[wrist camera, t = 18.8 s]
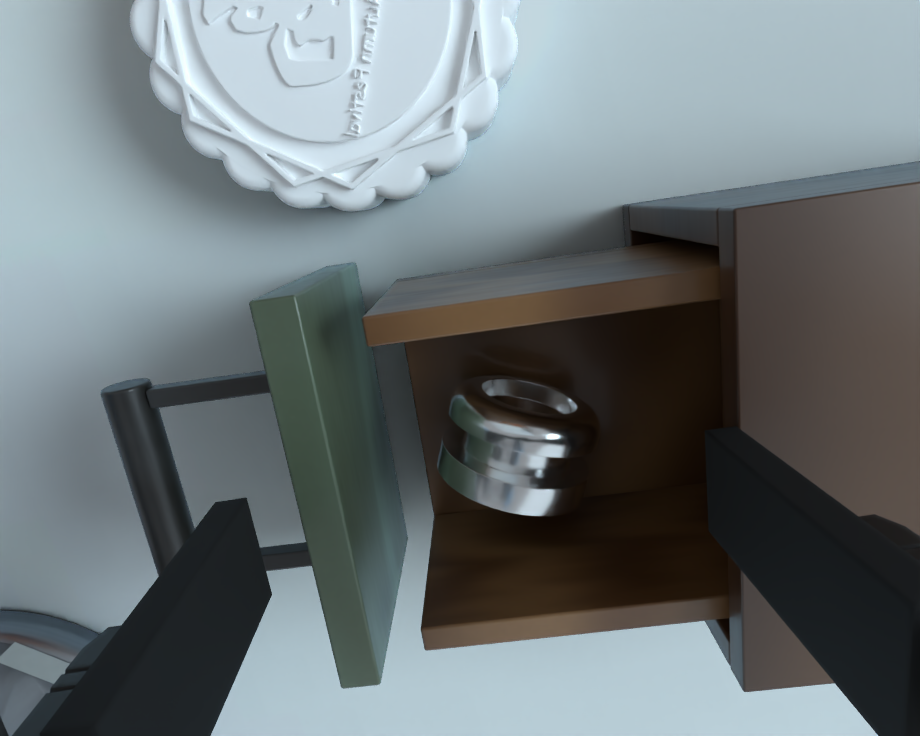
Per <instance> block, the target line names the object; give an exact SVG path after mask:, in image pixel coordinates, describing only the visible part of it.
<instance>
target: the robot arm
mask: <svg viewBox="0 0 920 736" xmlns="http://www.w3.org/2000/svg"><path fill="white" fill-rule="evenodd" d="M705 453H706V479H707V504H708V530H709V532H710V533H711V534H712V536H713V537H714V538H715V539H716V540H717V542H718V543H719V544H720V545H721V546H722V548H723V549H724V550H725V551H726V553H727V554H728V555H729V556H730V557H731V559H732V560H733V561H734V562H735V563H736V565H737V566H738V567H739V568H740V569H741V571H742V572H743V573H744V574H745V575H746V577H747V578H748V579H749V580H750V581H751V583H752V584H753V585H754V586H755V587H756V589H757V590H758V591H759V592H760V593H761V595H762V596H763V597H764V598H765V600H766V601H767V602H768V603H769V604H770V606H771V607H772V608H773V609H774V610H775V612H776V613H777V614H778V615H779V616H780V618H781V619H782V620H783V621H784V622H785V624H786V625H787V626H788V627H789V628H790V630H791V631H792V632H793V633H794V634H795V636H796V637H797V638H798V639H799V640H800V642H801V643H802V644H803V645H804V647H805V648H806V649H807V650H808V651H809V653H810V654H811V655H812V656H813V657H814V659H815V660H816V661H817V662H818V663H819V665H820V666H821V667H822V668H823V669H824V671H825V672H826V673H827V674H828V675H829V677H830V678H831V679H832V680H833V681H834V683H835V684H836V685H837V686H838V687H839V689H840V690H841V691H842V692H843V694H844V695H845V696H846V697H847V698H848V700H849V701H850V702H851V703H852V704H853V706H854V707H855V708H856V709H857V710H858V712H859V713H860V714H861V715H862V716H863V718H864V719H865V720H866V721H867V722H868V724H869V725H870V726H871V727H872V728H873V730H874V731H875V732H876V733H877V734H878V736H920V536H919V535H917V534H916V533H915V532H913V531H912V530H910V529H909V528H907V527H906V526H903V525H901V524H898V523H896V522H893V521H891V520H888V519H886V518H883V517H881V516H878V515H876V514H872V515H865V516H857V515H856V514H854V513H853V512H852V511H850V510H849V509H848V508H846V507H845V506H844V505H842V504H841V503H840V502H838V501H837V500H836V499H834V498H833V497H831V496H830V495H829V494H827V493H826V492H825V491H823V490H822V489H821V488H819V487H818V486H817V485H815V484H814V483H813V482H811V481H810V480H808V479H807V478H806V477H804V476H803V475H802V474H800V473H799V472H798V471H796V470H795V469H794V468H792V467H791V466H790V465H788V464H787V463H785V462H784V461H783V460H781V459H780V458H779V457H777V456H776V455H775V454H773V453H772V452H771V451H769V450H768V449H767V448H765V447H764V446H762V445H761V444H760V443H758V442H757V441H756V440H754V439H753V438H752V437H750V436H749V435H748V434H746V433H745V432H744V431H742V430H741V429H739V428H738V427H737V426H732V427H725V428H718V429H711V430H705ZM271 596H272V592H271V589H270V585H269V581H268V577H267V573H266V570H265V566H264V562H263V558H262V555H261V551H260V547H259V543H258V539H257V536H256V532H255V528H254V524H253V520H252V517H251V513H250V509H249V505H248V501H247V498H241V499H234V500H228V501H221V502H215V504H214V505H213V506H212V508H211V509H210V510H209V512H208V513H207V514H206V515H205V517H204V518H203V519H202V521H201V522H200V523H199V525H198V526H197V527H196V529H195V530H194V531H193V533H192V534H191V535H190V536H189V538H188V539H187V540H186V542H185V543H184V544H183V546H182V547H181V548H180V550H179V551H178V552H177V554H176V555H175V556H174V557H173V559H172V560H171V561H170V563H169V564H168V565H167V567H166V568H165V569H164V571H163V572H162V573H161V575H160V576H159V577H158V578H157V580H156V581H155V582H154V584H153V585H152V586H151V588H150V589H149V590H148V592H147V593H146V594H145V596H144V597H143V598H142V599H141V601H140V602H139V603H138V605H137V606H136V607H135V609H134V610H133V611H132V613H131V614H130V615H129V617H128V618H127V619H126V620H125V622H124V623H123V624H122V626H115V627H109V628H107V629H106V630H105V631H104V632H102V633H101V634H100V635H99V634H97V633H96V632H93V631H91V630H89V629H86V628H84V627H82V626H80V625H77V624H74V623H71V622H68V621H65V620H62V619H58V618H54V617H50V616H46V615H41V614H35V613H29V612H19V611H0V736H211V733H212V731H213V729H214V726H215V724H216V722H217V720H218V717H219V715H220V713H221V710H222V708H223V706H224V703H225V701H226V699H227V697H228V694H229V692H230V690H231V687H232V685H233V683H234V681H235V678H236V676H237V674H238V671H239V669H240V667H241V664H242V662H243V660H244V658H245V655H246V653H247V651H248V648H249V646H250V644H251V641H252V639H253V637H254V635H255V632H256V630H257V628H258V625H259V623H260V621H261V618H262V616H263V614H264V612H265V609H266V607H267V605H268V602H269V600H270V598H271Z"/></svg>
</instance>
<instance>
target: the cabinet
mask: <svg viewBox="0 0 920 736" xmlns="http://www.w3.org/2000/svg"><path fill="white" fill-rule="evenodd" d="M623 218H624V233H625V247H628V246H635V245H642V244H649V243H656V242H663V241H670V240H677V239H681V240H687V241H692V242H697V243H703V244H708V245H713V246H719V257H720V294H721V330H722V367H723V403H724V428H725V427H732V426H737V427H738V428H739V429H741V430H742V431H744V432H745V433H746V434H748V435H749V436H750V437H752V438H753V439H754V440H756V441H757V442H758V443H760V444H761V445H762V446H764V447H765V448H767V449H768V450H769V451H771V452H772V453H773V454H775V455H776V456H777V457H779V458H780V459H781V460H783V461H784V462H785V463H787V464H788V465H790V466H791V467H792V468H794V469H795V470H796V471H798V472H799V473H800V474H802V475H803V476H804V477H806V478H807V479H808V480H810V481H811V482H813V483H814V484H815V485H817V486H818V487H819V488H821V489H822V490H823V491H825V492H826V493H827V494H829V495H830V496H831V497H833V498H834V499H836V500H837V501H838V502H840V503H841V504H842V505H844V506H845V507H846V508H848V509H849V510H850V511H852V512H853V513H854V514H856V515H857V516H865V515H872V514H876V515H878V516H881V517H883V518H886V519H888V520H891V521H893V522H896V523H898V524H901V525H903V526H906V527H907V528H909V529H910V530H912V531H913V532H915V533H916V534H917V535H919V536H920V161H918V162H912V163H905V164H898V165H891V166H884V167H878V168H871V169H864V170H857V171H850V172H843V173H837V174H830V175H823V176H816V177H809V178H803V179H796V180H789V181H782V182H775V183H769V184H762V185H755V186H748V187H741V188H735V189H728V190H721V191H714V192H707V193H700V194H694V195H687V196H680V197H673V198H666V199H660V200H653V201H646V202H639V203H632V204H626V205H623ZM728 586H729V618H725V619H716V620H706V621H705V622H706V624H707V626H708V627H709V629H710V631H711V633H712V635H713V636H714V638H715V640H716V642H717V644H718V645H719V647H720V649H721V651H722V653H723V654H724V656H725V658H726V660H727V662H728V663H729V665H730V666H731V670H732V671H733V673H734V675H735V677H736V679H737V680H738V682H739V684H740V686H741V688H742V689H743V691H744V692H752V691H762V690H772V689H781V688H791V687H801V686H811V685H821V684H831V683H834V681H833V680H832V679H831V678H830V677H829V675H828V674H827V673H826V672H825V671H824V669H823V668H822V667H821V666H820V665H819V663H818V662H817V661H816V660H815V659H814V657H813V656H812V655H811V654H810V653H809V651H808V650H807V649H806V648H805V647H804V645H803V644H802V643H801V642H800V640H799V639H798V638H797V637H796V636H795V634H794V633H793V632H792V631H791V630H790V628H789V627H788V626H787V625H786V624H785V622H784V621H783V620H782V619H781V618H780V616H779V615H778V614H777V613H776V612H775V610H774V609H773V608H772V607H771V606H770V604H769V603H768V602H767V601H766V600H765V598H764V597H763V596H762V595H761V593H760V592H759V591H758V590H757V589H756V587H755V586H754V585H753V584H752V583H751V581H750V580H749V579H748V578H747V577H746V575H745V574H744V573H743V572H742V571H741V569H740V568H739V567H738V566H737V565H736V563H735V562H734V561H733V560H732V559H731V557H730V556H729V555H728Z"/></svg>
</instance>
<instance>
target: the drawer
mask: <svg viewBox="0 0 920 736" xmlns="http://www.w3.org/2000/svg"><path fill="white" fill-rule="evenodd" d="M249 305H250V309H251V313H252V318H253V322H254V326H255V330H256V334H257V338H258V343H259V347H260V351H261V355H262V359H263V363H264V368H265V371H257V372H250V373H243V374H235V375H228V376H221V377H213V378H206V379H199V380H191V381H184V382H176V383H169V384H162V385H155V386H152V383H151V381H150V380H149V379H143V378H142V379H133V380H128V381H123V382H120V383H116V384H113V385H111V386H108V387H106V388H104V389H103V390H102V391H101V397H102V400H103V404H104V407H105V410H106V413H107V416H108V419H109V422H110V425H111V429H112V432H113V435H114V438H115V441H116V444H117V447H118V450H119V453H120V457H121V460H122V463H123V466H124V469H125V472H126V475H127V478H128V482H129V485H130V488H131V491H132V494H133V497H134V500H135V503H136V507H137V510H138V513H139V516H140V519H141V522H142V525H143V528H144V532H145V535H146V538H147V541H148V544H149V547H150V550H151V553H152V556H153V560H154V563H155V566H156V569H157V572H158V575H159V576H160V575H161V573H162V572H163V571H164V569H165V568H166V567H167V565H168V564H169V563H170V561H171V560H172V559H173V557H174V556H175V555H176V554H177V552H178V551H179V550H180V548H181V547H182V546H183V544H184V543H185V542H186V540H187V539H188V538H189V536H190V535H191V534H192V533H193V531H194V530H195V528H194V525H193V522H192V518H191V515H190V512H189V508H188V505H187V501H186V498H185V495H184V491H183V488H182V484H181V481H180V478H179V474H178V471H177V467H176V464H175V461H174V457H173V454H172V450H171V447H170V444H169V440H168V437H167V433H166V430H165V427H164V423H163V420H162V417H161V413H160V410H159V408H160V407H168V406H175V405H183V404H190V403H198V402H205V401H213V400H220V399H228V398H235V397H242V396H250V395H257V394H265V393H271V397H272V401H273V405H274V409H275V413H276V418H277V422H278V426H279V430H280V434H281V438H282V443H283V447H284V451H285V455H286V459H287V463H288V468H289V472H290V476H291V480H292V484H293V488H294V493H295V497H296V501H297V505H298V509H299V513H300V517H301V522H302V526H303V530H304V534H305V538H306V542H304V543H296V544H287V545H279V546H271V547H262V548H260V551H261V555H262V558H263V562H264V566H265V570H266V571H271V570H280V569H289V568H297V567H306V566H312V567H313V572H314V576H315V580H316V584H317V588H318V592H319V597H320V601H321V605H322V609H323V613H324V617H325V622H326V626H327V630H328V634H329V638H330V642H331V647H332V651H333V655H334V659H335V663H336V667H337V672H338V676H339V680H340V684H341V687H342V688H353V687H363V686H372V685H379V684H380V683H381V678H382V673H383V667H384V662H385V657H386V651H387V646H388V641H389V635H390V630H391V625H392V619H393V614H394V609H395V603H396V598H397V593H398V588H399V582H400V577H401V572H402V566H403V561H404V556H405V550H406V545H407V540H408V536H407V531H406V526H405V520H404V515H403V510H402V505H401V499H400V494H399V489H398V483H397V478H396V473H395V467H394V462H393V457H392V452H391V446H390V441H389V436H388V430H387V425H386V420H385V414H384V409H383V404H382V398H381V393H380V388H379V383H378V377H377V372H376V367H375V361H374V356H373V351H372V347H374V346H381V345H388V344H396V343H403V342H404V344H405V350H406V356H407V362H408V368H409V373H410V379H411V385H412V391H413V396H414V402H415V408H416V414H417V420H418V425H419V431H420V437H421V443H422V448H423V454H424V460H425V466H426V471H427V477H428V483H429V489H430V495H431V500H432V506H433V512H434V521H433V530H432V538H431V547H430V556H429V564H428V573H427V581H426V590H425V598H424V607H423V615H422V624H421V633H422V638H423V644H424V648H425V650H437V649H446V648H455V647H464V646H474V645H483V644H492V643H502V642H511V641H520V640H530V639H539V638H548V637H558V636H567V635H576V634H585V633H595V632H604V631H613V630H623V629H632V628H641V627H651V626H660V625H669V624H679V623H688V622H697V621H706V620H716V619H725V618H729V586H728V554H727V553H726V551H725V550H724V549H723V548H722V546H721V545H720V544H719V543H718V542H717V540H716V539H715V538H714V537H713V536H712V534H711V533H710V532H709V530H708V504H707V479H706V453H705V430H711V429H718V428H724V403H723V367H722V330H721V294H720V257H719V246H713V245H708V244H703V243H697V242H692V241H687V240H681V239H677V240H670V241H663V242H656V243H649V244H642V245H635V246H628V247H621V248H614V249H607V250H600V251H593V252H586V253H579V254H572V255H565V256H558V257H551V258H544V259H537V260H530V261H523V262H516V263H509V264H502V265H495V266H488V267H481V268H474V269H467V270H460V271H453V272H446V273H439V274H432V275H425V276H418V277H411V278H404V279H397V280H396V281H395V282H394V284H393V285H392V286H391V287H390V288H389V289H388V290H387V291H386V292H385V293H384V295H383V296H382V297H381V298H380V299H379V300H378V301H377V302H376V303H375V304H374V305H373V306H372V307H371V309H370V310H369V311H368V312H367V313H366V314H365V308H364V303H363V298H362V292H361V287H360V282H359V276H358V271H357V266H356V263H347V264H340V265H333V266H326V267H324V268H322V269H320V270H317V271H315V272H313V273H311V274H309V275H306V276H304V277H302V278H300V279H298V280H296V281H293V282H291V283H289V284H287V285H285V286H282V287H280V288H278V289H276V290H274V291H271V292H269V293H267V294H265V295H263V296H260V297H258V298H256V299H254V300H252V301H250V303H249ZM484 375H503V376H512V377H519V378H525V379H529V380H534V381H538V382H541V383H545V384H548V385H551V386H554V387H557V388H559V389H562V390H564V391H566V392H569V393H571V394H573V395H574V396H576V397H578V398H580V399H581V400H583V401H584V402H585V403H587V404H588V405H589V406H590V407H591V408H592V409H593V410H594V411H595V413H596V414H597V416H598V418H599V421H600V425H601V435H600V439H599V443H598V446H597V448H596V449H595V450H594V451H593V452H591V453H590V454H587V455H584V456H582V457H583V459H584V460H585V461H586V463H587V464H588V466H589V470H590V475H589V478H588V482H587V486H586V489H585V493H584V496H583V500H582V502H581V504H580V505H579V506H578V507H577V508H576V509H574V510H573V511H571V512H568V513H565V514H561V515H556V516H525V515H518V514H513V513H508V512H504V511H500V510H497V509H493V508H490V507H488V506H485V505H482V504H480V503H478V502H475V501H473V500H471V499H469V498H467V497H465V496H464V495H462V494H460V493H459V492H457V491H456V490H455V489H453V488H452V487H451V486H450V485H448V484H447V483H446V482H445V480H444V479H443V478H442V477H441V475H440V473H439V471H438V468H437V461H438V456H439V451H440V446H441V441H442V437H443V434H444V433H445V432H446V431H447V430H448V429H449V428H451V427H453V426H456V425H457V424H456V423H455V422H454V421H453V420H452V419H451V417H450V416H449V413H448V407H449V402H450V397H451V395H452V393H453V391H454V389H455V388H456V387H457V386H458V385H459V384H460V383H462V382H463V381H465V380H467V379H470V378H473V377H477V376H484Z"/></svg>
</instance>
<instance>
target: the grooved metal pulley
mask: <svg viewBox="0 0 920 736" xmlns="http://www.w3.org/2000/svg"><path fill="white" fill-rule="evenodd" d="M448 413H449V416H450V417H451V419H452V420H453V421H454V422H455V423H456V424H457V425H456V426H453V427H451V428H449V429H448V430H447V431H446V432H445V433H444V434H443V437H442V441H441V446H440V451H439V456H438V461H437V468H438V471H439V473H440V475H441V477H442V478H443V479H444V480H445V482H446V483H447V484H448V485H450V486H451V487H452V488H453V489H455V490H456V491H457V492H459V493H460V494H462V495H464V496H465V497H467V498H469V499H471V500H473V501H475V502H478V503H480V504H482V505H485V506H488V507H490V508H493V509H497V510H500V511H504V512H508V513H513V514H518V515H525V516H556V515H561V514H565V513H568V512H571V511H573V510H574V509H576V508H577V507H578V506H579V505H580V504H581V502H582V500H583V496H584V493H585V489H586V486H587V482H588V478H589V475H590V470H589V466H588V464H587V463H586V461H585V460H584V459H583V457H582V456H584V455H587V454H590V453H591V452H593V451H594V450H595V449H596V448H597V446H598V443H599V439H600V435H601V425H600V421H599V418H598V416H597V414H596V413H595V411H594V410H593V409H592V408H591V407H590V406H589V405H588V404H587V403H585V402H584V401H583V400H581V399H580V398H578V397H576V396H574V395H573V394H571V393H569V392H566V391H564V390H562V389H559V388H557V387H554V386H551V385H548V384H545V383H541V382H538V381H534V380H529V379H525V378H519V377H512V376H503V375H484V376H477V377H473V378H470V379H467V380H465V381H463V382H462V383H460V384H459V385H458V386H457V387H456V388H455V389H454V391H453V393H452V395H451V397H450V402H449V407H448Z"/></svg>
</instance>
